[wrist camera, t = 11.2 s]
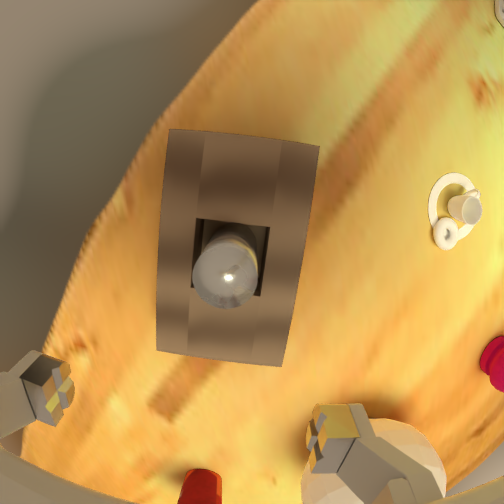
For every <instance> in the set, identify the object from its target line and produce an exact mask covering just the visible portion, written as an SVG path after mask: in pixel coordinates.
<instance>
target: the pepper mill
mask: <svg viewBox="0 0 504 504" xmlns="http://www.w3.org/2000/svg"><path fill="white" fill-rule="evenodd" d="M480 367H481V369H482V370H483V371H484V372H485V373H486V374H487V375H489V376H490V382H491V384H492V385H493V386H494V387H495V388H496V389H497V390H499V391H501V392H504V336H500V337H497V338H495V339H494V340H493V341H491V342H490V343H489V345H488V346H487V347H486V349H485V350H484V352H483V354H482V356H481V360H480Z"/></svg>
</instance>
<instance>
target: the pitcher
mask: <svg viewBox="0 0 504 504" xmlns="http://www.w3.org/2000/svg"><path fill="white" fill-rule="evenodd" d="M369 421H370V423H371V425H372V428H373V430H374V433H375V435H376V437H381V438H383V439H384V440H386V441H387V442H389V443H390V444H391V445H393V446H394V447H396V448H397V449H399V450H400V451H402V452H403V453H404V454H406V455H407V456H409V457H410V458H412V459H413V460H415V461H416V462H418V463H419V464H421V465H422V466H424V467H425V468H427V469H428V470H430V471H431V472H432V474H433V476H434V478H435V480H436V483H437V485H438V487H439V489H440V491H441V493H442V495H443V498H445V493H446V474H445V470H444V467H443V464H442V461H441V459H440V458H439V456H438V454H437V453H436V451H435V450H434V448H433V447H432V445H431V444H430V442H429V441H428V440H427V438H426V437H425V435H424V434H422V433H421V432H420V431H418V430H417V429H416V428H414V427H413V426H412V425H410V424H406V423H403V422H399V421H396V420H391V419H387V418H376V419H369ZM336 474H337V473H329V474H311V471H310V465H309V460H308V462H307V464H306V466H305V468H304V472H303V475H302V479H301V494H302V501H303V504H364V503H363V502H362V501H361V500H360V499H359V498H358V497H357V496H356V495H355V494H354V493H353V492H352V491H351V490H350V488H349V487H348V486H347V485H346V484H345V483H344V482H343V481H342V480H341V479H340V478H339V477H338V476H337V475H336Z"/></svg>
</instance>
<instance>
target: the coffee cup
mask: <svg viewBox="0 0 504 504" xmlns="http://www.w3.org/2000/svg"><path fill="white" fill-rule="evenodd" d="M177 504H222V480H221V477H220V476H219V475H218V474H217V473H215V472H213V471H210V470H206V469H193V470H190V471H189V472H187V474H186V477H185V480H184V483H183V486H182V490H181V493H180V496H179V500H178V503H177Z"/></svg>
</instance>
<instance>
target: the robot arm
mask: <svg viewBox="0 0 504 504" xmlns="http://www.w3.org/2000/svg"><path fill="white" fill-rule="evenodd" d="M495 14H496V17H497V19H498V20H499V22H500V23H501V24H502V26H503V27H504V0H495ZM70 373H71V369H70V365H69V364H68V363H67V362H65V361H62V360H59V359H56V358H54V357H51V356H48V355H46V354H42V353H39V352H37V351H34V350H33V351H30V352H29V353H28V354H27V355H26V356H25V357H23V359H21V360H20V361H19V362H18V363H17V364H16V365H15V366H14V367H13V368H12V369H11V370H10V371H9V372H8V373H7V372H1V373H0V439H1V438H3V437H5V436H7V435H9V434H11V433H13V432H15V431H17V430H19V429H21V428H23V427H24V426H26V425H28V424H30V423H32V422H34V421H36V419H37V420H39V421H42V422H44V423H47V424H49V425H52V426H55V427H56V425H57V424H58V422H59V421H60V420H61V418H62V417H63V415H64V414H63V409H65V408H67V407H69V406H70V405H71V403H72V401H73V398H74V394H75V387H74V383H73V381H72V380H71V378H70V377H69V375H70ZM313 417H314V419H312V420H311V421H310V422H309V424H308V427H307V432H306V446H307V449H308V450H309V451H310V452H311V453H310V456H309V458H308V459H309V465H310V471H311V474H329V473H337V474H336V475H337V476H338V477H339V478H340V479H341V480H342V481H343V482H344V483H345V484H346V485H347V486H348V487H349V488H350V490H351V491H352V492H353V493H354V494H355V495H356V496H357V497H358V498H359V499H360V500H361V501H362V502H363V503H364V504H504V476H501V477H499V478H497V479H495V480H492V481H490V482H488V483H485V484H482V485H480V486H477V487H475V488H472V489H469V490H467V491H464V492H461V493H458V494H455V495H453V496H449V497H446V498H443V495H442V493H441V491H440V489H439V487H438V485H437V483H436V480H435V478H434V476H433V474H432V472H431V471H430V470H428V469H427V468H425V467H424V466H422V465H421V464H419V463H418V462H416V461H415V460H413V459H412V458H410V457H409V456H407V455H406V454H404V453H403V452H402V451H400V450H399V449H397V448H396V447H394V446H393V445H391V444H390V443H389V442H387V441H386V440H384V439H383V438H381V437H376V435H375V433H374V430H373V428H372V425H371V423H370V421H369V418H368V416H367V413H366V411H365V409H364V406H363V405H362V404H361V403H354V404H316V405H315V407H314V410H313ZM0 504H138V503H135V502H131V501H127V500H124V499H120V498H117V497H114V496H111V495H107V494H104V493H101V492H98V491H95V490H93V489H90V488H87V487H84V486H82V485H79V484H76V483H74V482H71V481H69V480H66V479H64V478H62V477H59V476H57V475H55V474H52V473H50V472H48V471H46V470H44V469H42V468H39V467H37V466H35V465H33V464H31V463H29V462H27V461H25V460H23V459H22V458H20V457H18V456H16V455H14V454H12V453H10V452H9V451H7V450H5V449H3V447H2V446H1V444H0Z"/></svg>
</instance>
